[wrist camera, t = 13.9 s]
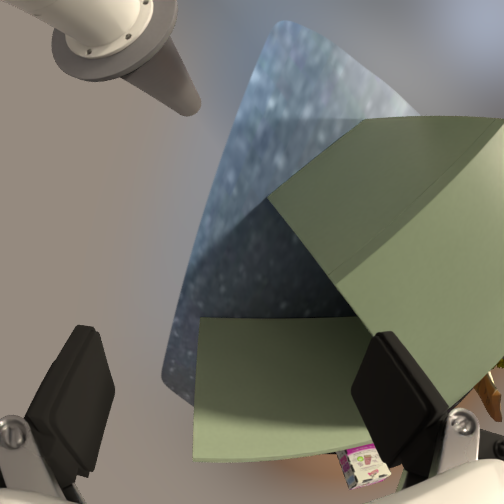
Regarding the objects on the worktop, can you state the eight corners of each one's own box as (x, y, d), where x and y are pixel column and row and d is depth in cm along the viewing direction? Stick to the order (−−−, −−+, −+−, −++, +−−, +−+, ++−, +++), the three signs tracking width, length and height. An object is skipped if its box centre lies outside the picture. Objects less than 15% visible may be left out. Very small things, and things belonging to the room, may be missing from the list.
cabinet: (360, 315, 47) (432, 421, 24) (266, 197, 38) (334, 285, 15) (434, 250, 44) (532, 321, 21) (364, 118, 35) (507, 118, 12)
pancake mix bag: (420, 345, 52) (489, 435, 27) (398, 289, 46) (498, 398, 20) (443, 326, 52) (516, 409, 26) (425, 266, 45) (533, 359, 19)
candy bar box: (331, 444, 64) (348, 491, 49) (339, 434, 62) (357, 483, 47) (364, 439, 66) (382, 481, 51) (372, 430, 64) (392, 473, 49)
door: (346, 351, 49) (400, 455, 27) (200, 355, 46) (197, 485, 24) (357, 316, 46) (428, 421, 24) (200, 317, 43) (192, 457, 21)
